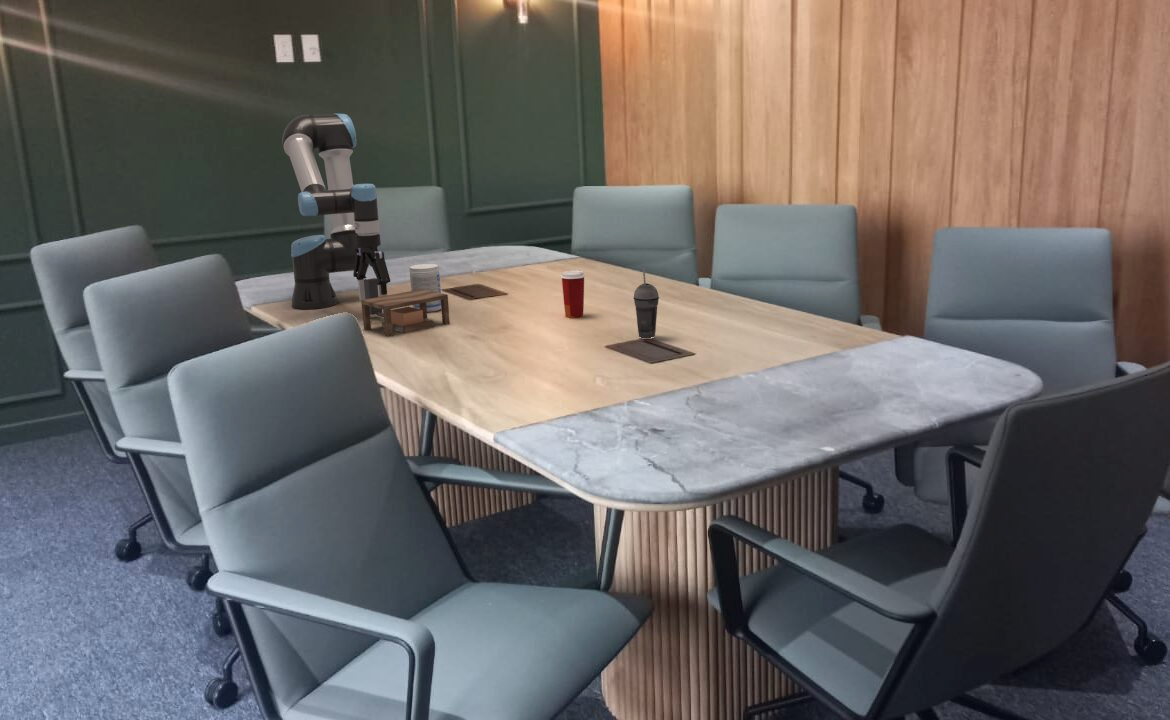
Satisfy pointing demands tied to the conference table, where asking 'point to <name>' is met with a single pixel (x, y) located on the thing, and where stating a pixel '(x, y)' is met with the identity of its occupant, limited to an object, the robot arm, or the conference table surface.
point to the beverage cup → (646, 308)
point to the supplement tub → (426, 282)
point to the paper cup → (573, 293)
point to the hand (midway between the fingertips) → (373, 302)
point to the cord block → (397, 315)
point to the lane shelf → (402, 301)
